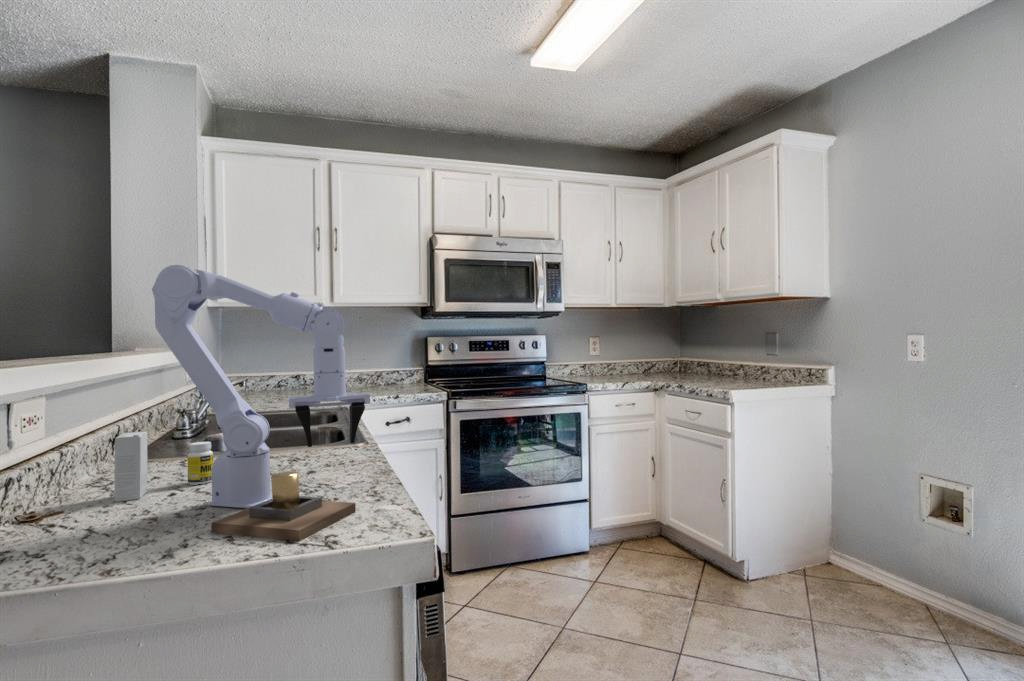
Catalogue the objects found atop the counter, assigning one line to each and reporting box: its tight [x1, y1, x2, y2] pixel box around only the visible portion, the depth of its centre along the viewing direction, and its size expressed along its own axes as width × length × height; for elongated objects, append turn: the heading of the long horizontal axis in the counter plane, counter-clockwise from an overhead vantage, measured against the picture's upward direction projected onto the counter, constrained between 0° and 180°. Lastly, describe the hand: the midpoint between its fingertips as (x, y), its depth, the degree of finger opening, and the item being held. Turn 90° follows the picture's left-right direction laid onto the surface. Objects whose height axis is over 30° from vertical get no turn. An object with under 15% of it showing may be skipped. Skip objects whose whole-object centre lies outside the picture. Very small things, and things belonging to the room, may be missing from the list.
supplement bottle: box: [187, 441, 214, 486], centre depth 116 cm, size 5×5×8 cm
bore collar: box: [249, 495, 323, 521], centre depth 87 cm, size 8×8×2 cm
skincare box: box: [114, 431, 148, 502], centre depth 105 cm, size 6×4×12 cm
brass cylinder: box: [270, 470, 301, 509], centre depth 87 cm, size 4×4×6 cm
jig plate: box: [210, 499, 356, 542], centre depth 87 cm, size 16×14×2 cm
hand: (331, 444), depth 104 cm, fingers open, 7 cm apart
